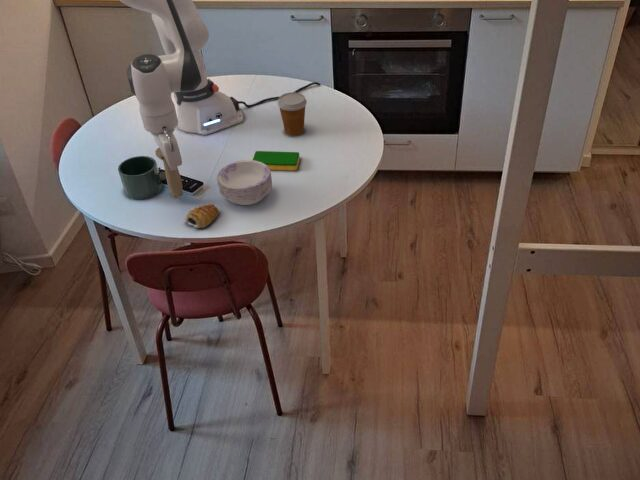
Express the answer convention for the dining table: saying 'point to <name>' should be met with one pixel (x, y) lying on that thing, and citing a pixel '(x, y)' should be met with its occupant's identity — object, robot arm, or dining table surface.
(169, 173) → the handle
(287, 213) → the dining table surface
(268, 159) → the dish sponge
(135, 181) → the crock
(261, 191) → the white bowl
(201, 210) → the pastry
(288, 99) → the disposable coffee cup
